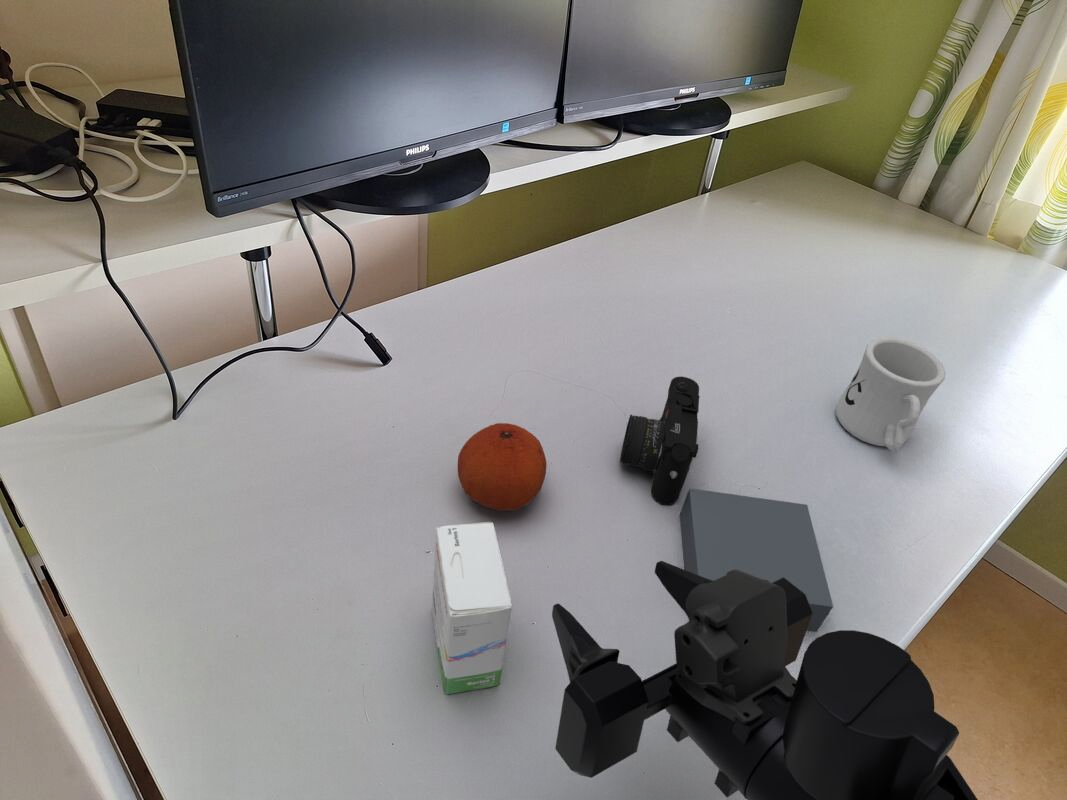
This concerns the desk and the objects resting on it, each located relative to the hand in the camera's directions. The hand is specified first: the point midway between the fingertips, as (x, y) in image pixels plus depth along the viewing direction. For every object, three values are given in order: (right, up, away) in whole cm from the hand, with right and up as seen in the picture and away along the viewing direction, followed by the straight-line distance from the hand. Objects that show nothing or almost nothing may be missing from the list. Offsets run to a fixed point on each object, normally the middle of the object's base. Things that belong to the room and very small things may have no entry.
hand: (608, 586), depth 53 cm
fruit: (-9, +4, +25) cm, 27 cm away
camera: (+8, +7, +31) cm, 33 cm away
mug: (+36, +9, +39) cm, 54 cm away
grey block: (+15, -3, +21) cm, 26 cm away
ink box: (-11, -8, +11) cm, 18 cm away
